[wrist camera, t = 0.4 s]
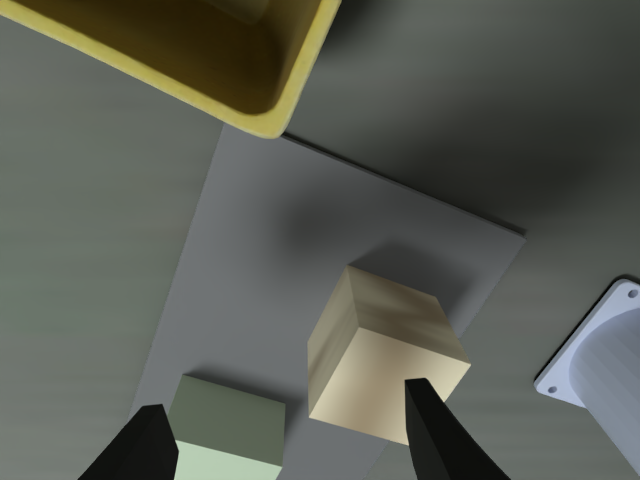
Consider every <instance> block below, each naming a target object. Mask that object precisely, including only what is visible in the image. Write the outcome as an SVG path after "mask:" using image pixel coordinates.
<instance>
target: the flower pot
mask: <svg viewBox="0 0 640 480" xmlns="http://www.w3.org/2000/svg"><path fill="white" fill-rule="evenodd" d="M341 1H342V0H0V15H2V16H4V17H6V18H8V19H11V20H13V21H15V22H17V23H20V24H22V25H24V26H26V27H29V28H31V29H33V30H35V31H38V32H40V33H42V34H45V35H47V36H49V37H51V38H54V39H56V40H58V41H60V42H62V43H64V44H67V45H69V46H71V47H73V48H76V49H78V50H80V51H82V52H84V53H86V54H88V55H90V56H92V57H94V58H96V59H98V60H100V61H102V62H104V63H107V64H109V65H111V66H113V67H115V68H117V69H119V70H121V71H123V72H125V73H127V74H129V75H131V76H133V77H135V78H137V79H139V80H141V81H143V82H145V83H147V84H150V85H152V86H154V87H156V88H158V89H159V90H161V91H163V92H165V93H168V94H170V95H172V96H174V97H176V98H178V99H180V100H182V101H184V102H186V103H188V104H190V105H192V106H194V107H196V108H198V109H200V110H202V111H204V112H206V113H208V114H210V115H212V116H214V117H216V118H218V119H220V120H222V121H224V122H226V123H228V124H230V125H232V126H234V127H236V128H238V129H240V130H242V131H244V132H247V133H250V134H252V135H255V136H258V137H261V138H265V139H275V138H279V137H280V136H281V134H282V133H283V132H284V131H285V129H286V127H287V125H288V123H289V121H290V119H291V117H292V115H293V113H294V110H295V108H296V105H297V103H298V101H299V98H300V96H301V93H302V91H303V89H304V86H305V84H306V82H307V79H308V77H309V75H310V72H311V70H312V68H313V65H314V63H315V61H316V59H317V57H318V54H319V52H320V50H321V48H322V45H323V43H324V40H325V38H326V36H327V33H328V31H329V29H330V27H331V24H332V22H333V20H334V18H335V15H336V13H337V11H338V8H339V6H340V4H341Z"/></svg>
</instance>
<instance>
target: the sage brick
mask: <svg viewBox="0 0 640 480" xmlns="http://www.w3.org/2000/svg"><path fill="white" fill-rule="evenodd" d="M167 418H168V421H169V424H170V427H171V429H172V432H173V435H174V438H175V441H176V444H177V447H178V449H179V456H178V462H177V467H176V473H175V477H174V480H276V478H277V476H278V474H279V473H280V471H281V469H282V467H283V447H284V426H285V403H281V402H278V401H274V400H271V399H267V398H264V397H260V396H256V395H253V394H249V393H246V392H242V391H239V390H235V389H232V388H228V387H225V386H221V385H218V384H214V383H211V382H207V381H204V380H200V379H197V378H193V377H190V376H186V375H183V374H182V376H181V379H180V382H179V384H178V387H177V390H176V392H175V395H174V398H173V400H172V403H171V406H170V408H169V411H168V414H167Z"/></svg>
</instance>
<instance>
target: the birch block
mask: <svg viewBox="0 0 640 480" xmlns="http://www.w3.org/2000/svg"><path fill="white" fill-rule="evenodd" d="M307 344H308V403H309V418H313V419H316V420H320V421H323V422H327V423H330V424H334V425H338V426H341V427H345V428H348V429H352V430H355V431H359V432H362V433H366V434H370V435H373V436H377V437H380V438H384V439H387V440H391V441H394V442H398V443H402V444H405V445H409V443H408V438H407V433H406V419H405V383H404V380H405V379H415V378H426V379H428V380H429V381H430V383H431V385H432V386H433V388H434V389H435V391H436V392H437V393H438V395H439V396H440V398H441V399H442V400H443V402H445V400H446V399H447V398H448V396H449V395H450V394H451V392H452V391H453V389H454V388H455V387H456V385H457V384H458V382H459V381H460V380H461V378H462V377H463V375H464V374H465V373H466V371H467V370H468V368H469V367H470V366H471V363H470V361H469V359H468V357H467V355H466V353H465V352H464V350H463V348H462V346H461V344H460V342H459V340H458V338H457V336H456V334H455V332H454V331H453V329H452V327H451V325H450V323H449V321H448V319H447V317H446V315H445V313H444V311H443V310H442V308H441V306H440V304H439V302H438V300H437V298H436V297H434V296H432V295H429V294H426V293H423V292H421V291H418V290H415V289H412V288H410V287H407V286H404V285H401V284H399V283H396V282H393V281H390V280H388V279H385V278H382V277H379V276H377V275H374V274H371V273H368V272H366V271H363V270H360V269H357V268H355V267H352V266H349V265H346V267H345V269H344V271H343V273H342V275H341V277H340V279H339V281H338V283H337V285H336V287H335V289H334V291H333V293H332V295H331V297H330V299H329V301H328V303H327V304H326V306H325V308H324V310H323V312H322V314H321V316H320V318H319V320H318V322H317V324H316V326H315V328H314V330H313V332H312V334H311V336H310V338H309V340H308V342H307Z"/></svg>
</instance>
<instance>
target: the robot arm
mask: <svg viewBox="0 0 640 480" xmlns="http://www.w3.org/2000/svg"><path fill="white" fill-rule="evenodd" d="M631 290H632V292H630V291H631ZM629 292H630V293H629ZM628 293H629V294H628ZM404 383H405V419H406V433H407V438H408V443H409V448H410V452H411V457H412V461H413V466H414V469H415V472H416V475H417V479H418V480H511V479H510V478H509V477H508V476H507V475H506V474H505V473H504V472H503V471H502V470H501V469H500V468H499V467H498V466H497V465H496V464H495V463H494V462H493V460H492V459H491V458H490V457H489V456H488V455H487V454H486V453H485V452H484V451H483V450H482V449H481V447H480V446H479V445H478V444H477V443H476V442H475V441H474V439H473V438H472V437H471V436H470V435H469V433H468V432H467V431H466V430H465V429H464V427H463V426H462V425H461V424H460V423H459V421H458V420H457V419H456V418H455V416H454V415H453V414H452V413H451V411H450V410H449V409H448V407H447V406H446V405H445V403H444V402H443V400H442V399H441V398H440V396H439V395H438V393H437V392H436V391H435V389H434V388H433V386H432V385H431V383H430V381H429V380H428V379H426V378H415V379H405V380H404ZM534 387H535V388H536V390H537V391H538V392H539V393H542V394H545V395H548V396H551V397H554V398H557V399H560V400H563V401H566V402H569V403H572V404H575V405H578V406H581V407H584V408H587V409H588V410H589V412H590V413H591V414H592V416H593V417H594V418H595V419H596V421H597V422H598V423H599V425H600V426H601V427H602V428H603V430H604V431H605V432H606V434H607V435H608V436H609V437H610V439H611V440H612V441H613V443H614V444H615V445H616V446H617V448H618V449H619V450H620V452H621V453H622V454H623V455H624V457H625V458H626V459H627V461H628V462H629V463H630V464H631V466H632V467H633V468H634V470H635V471H636V472H637V473H638V475H639V476H640V285H639V284H637V283H635V282H632V281H630V280H627V279H621V280H618V281H616V282H615V283H614V284H613V285H612V287H611V288H610V289H609V290H608V292H607V293H606V294H605V295H604V297H603V298H602V299H601V300H600V301H599V303H598V304H597V305H596V306H595V308H594V309H593V310H592V311H591V313H590V314H589V315H588V316H587V318H586V319H585V320H584V321H583V322H582V324H581V325H580V326H579V327H578V329H577V330H576V331H575V332H574V334H573V335H572V336H571V337H570V338H569V340H568V341H567V342H566V343H565V345H564V346H563V347H562V348H561V350H560V351H559V352H558V353H557V355H556V356H555V357H554V358H553V359H552V361H551V362H550V363H549V364H548V366H547V367H546V368H545V369H544V371H543V372H542V373H541V374H540V376H539V377H538V378H537V379H536V380H535V382H534ZM550 387H551V388H550ZM178 456H179V449H178V447H177V444H176V441H175V438H174V435H173V432H172V429H171V427H170V424H169V421H168V418H167V415H166V412H165V409H164V406H163V404H155V405H145V406H142V407H141V408H140V409H139V410H138V411H137V412H136V414H135V415H134V416H133V417H132V418H131V419H130V421H129V422H128V423H127V424H126V425H125V426H124V428H123V429H122V430H121V431H120V432H119V433H118V435H117V436H116V437H115V438H114V439H113V440H112V441H111V443H110V444H109V445H108V446H107V447H106V448H105V450H104V451H103V452H102V453H101V454H100V455H99V456H98V457H97V459H96V460H95V461H94V462H93V463H92V464H91V465H90V467H89V468H88V469H87V470H86V471H85V472H84V473H83V474H82V475H81V476H80V477H79V478H78V479H77V480H174V477H175V473H176V467H177V462H178Z"/></svg>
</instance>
